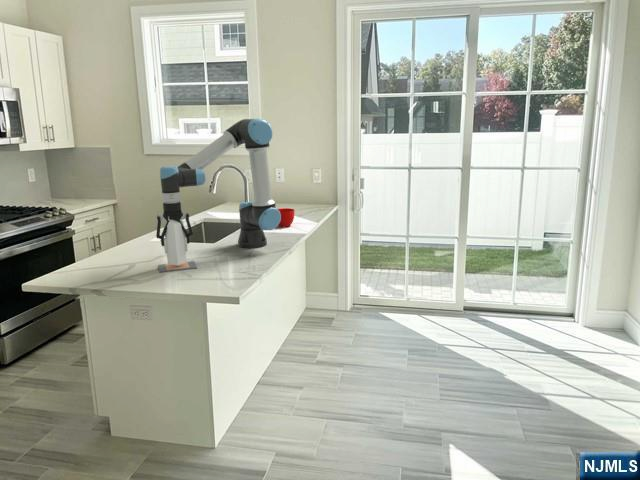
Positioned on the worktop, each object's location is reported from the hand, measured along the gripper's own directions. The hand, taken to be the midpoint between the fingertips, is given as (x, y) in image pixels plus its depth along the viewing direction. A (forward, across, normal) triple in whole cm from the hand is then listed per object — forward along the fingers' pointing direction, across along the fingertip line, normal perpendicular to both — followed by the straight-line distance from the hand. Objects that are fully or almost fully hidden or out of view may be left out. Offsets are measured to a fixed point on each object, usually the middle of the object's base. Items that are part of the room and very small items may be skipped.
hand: (176, 251), depth 226 cm
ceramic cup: (+8, +71, +67) cm, 98 cm away
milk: (+6, 0, 0) cm, 6 cm away
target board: (+7, 0, 0) cm, 7 cm away
